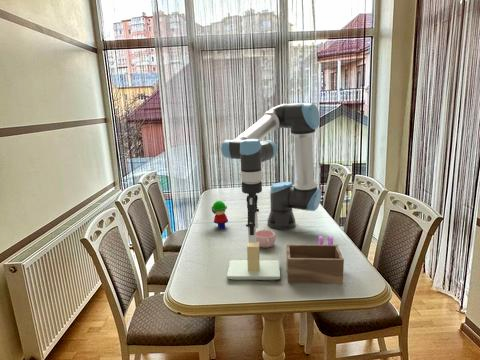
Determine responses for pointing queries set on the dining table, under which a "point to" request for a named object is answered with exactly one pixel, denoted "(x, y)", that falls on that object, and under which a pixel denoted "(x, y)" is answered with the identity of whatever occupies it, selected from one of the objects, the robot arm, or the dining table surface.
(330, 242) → the bracket
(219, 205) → the toy
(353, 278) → the dining table surface
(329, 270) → the box
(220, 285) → the dining table surface
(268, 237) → the mug
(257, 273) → the lid
